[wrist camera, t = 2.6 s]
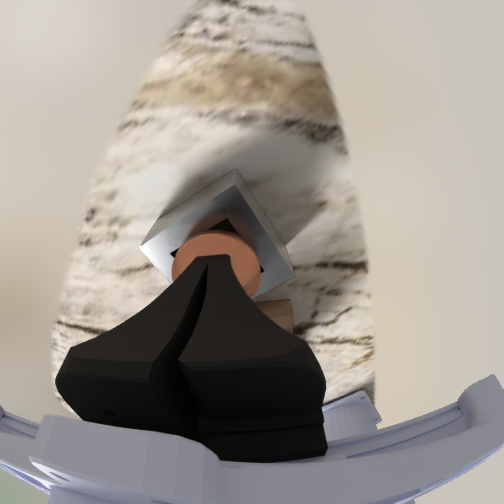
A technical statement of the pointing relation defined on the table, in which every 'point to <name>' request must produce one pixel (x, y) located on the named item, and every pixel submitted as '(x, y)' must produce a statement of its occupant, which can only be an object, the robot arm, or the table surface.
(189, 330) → the robot arm
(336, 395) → the table surface
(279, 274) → the frame
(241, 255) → the plunger
